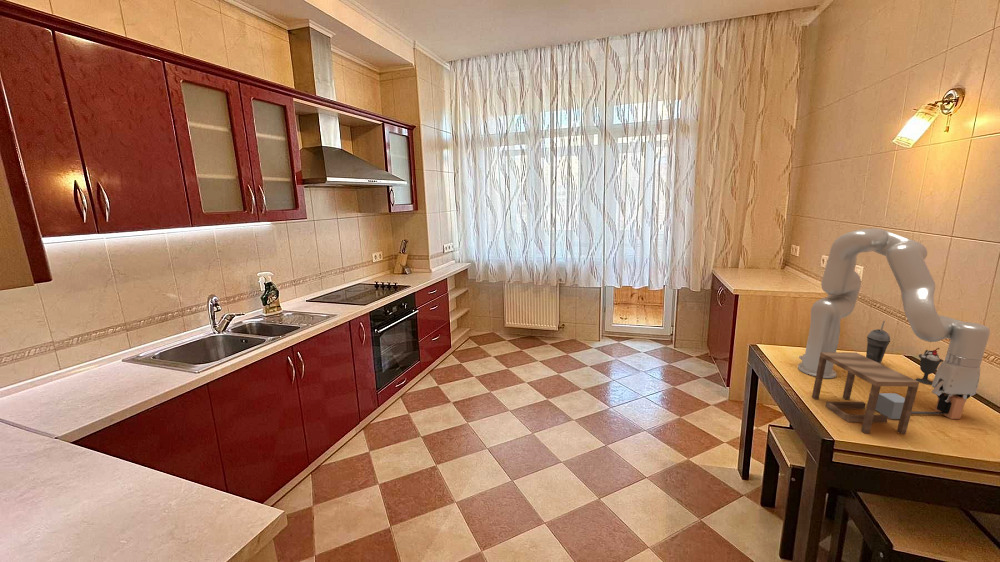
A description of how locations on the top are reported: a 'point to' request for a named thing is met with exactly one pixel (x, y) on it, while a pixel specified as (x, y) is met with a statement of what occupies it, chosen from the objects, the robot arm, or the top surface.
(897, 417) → the lopsided dumbbell
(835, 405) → the wooden side table
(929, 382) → the sundae
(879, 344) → the beverage cup
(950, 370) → the robot arm
